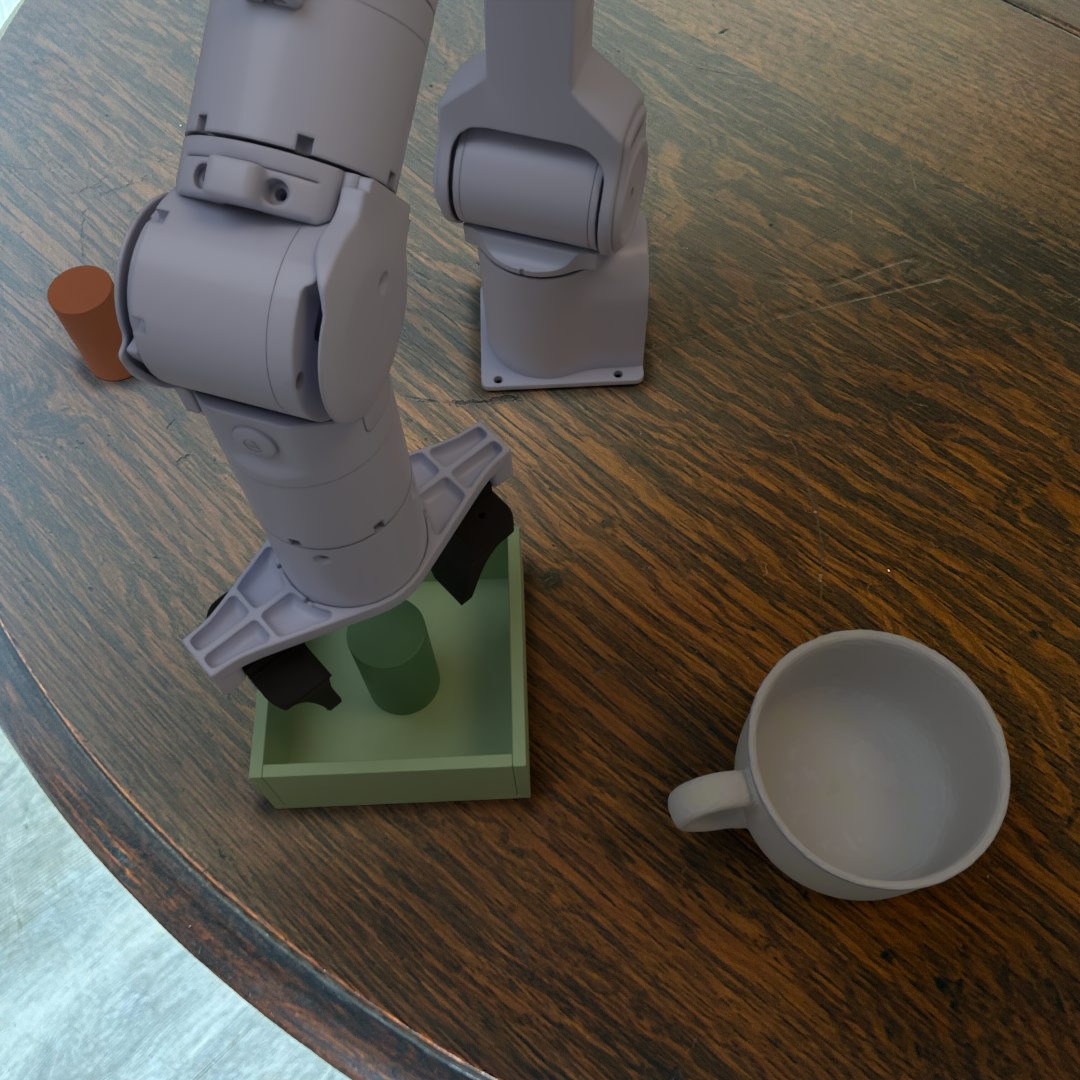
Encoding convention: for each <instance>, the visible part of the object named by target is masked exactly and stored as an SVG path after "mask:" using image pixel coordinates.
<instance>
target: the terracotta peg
mask: <svg viewBox="0 0 1080 1080" xmlns="http://www.w3.org/2000/svg"><path fill="white" fill-rule="evenodd" d="M114 283H115V281H113V278H112V276H111V275H110V274H109V272H108V271H106V270H105V269H103V268H101V267H99V266H95V265H90V264H89V265H86V264H84V265H78V266H74V267H71V268H68V269H66V270H64V271H62V272H61V273H60V274H58V275H57V276H56V277H55V278H54V279H53V280H52V281H51V283H50V285H49V286H48V288H47V292H46V297H47V302H48V304H49V306H50V307H51V309H52V311H53V312H54V314H55V316H56V317H57V319H58V320H59V322H60V323H61V325H62V327H63V328H64V330H65V332H66V333H67V334H68V336H69V338H70V339H71V341H72V342H73V344H74V346H75V347H76V349H77V351H78V352H79V354H80V355H81V357H82V359H83V360H84V361H85V363H86V365H87V366H88V369H90V371H91V373H92V374H93V375H94V376H95V377H97V378H99V379H101V380H104V381H109V382H115V381H122V380H126V379H129V378H131V377H133V375H131V374H130V373H129V372H128V371H127V369H126V368H125V367H124V366H123V364H122V363H121V361H120V359H119V350H120V347H121V344H122V333H121V330H120V327H119V324H118V320H117V315H116V309H115V299H114Z"/></svg>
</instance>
